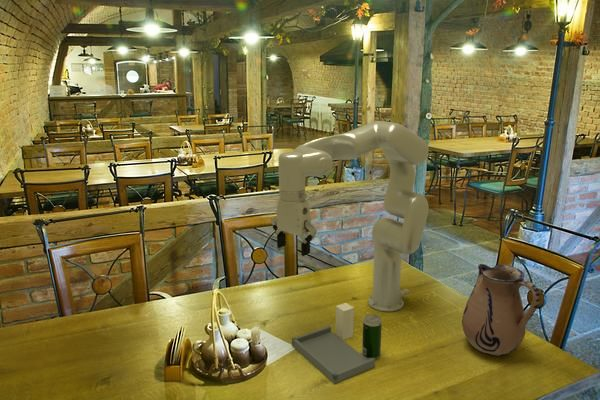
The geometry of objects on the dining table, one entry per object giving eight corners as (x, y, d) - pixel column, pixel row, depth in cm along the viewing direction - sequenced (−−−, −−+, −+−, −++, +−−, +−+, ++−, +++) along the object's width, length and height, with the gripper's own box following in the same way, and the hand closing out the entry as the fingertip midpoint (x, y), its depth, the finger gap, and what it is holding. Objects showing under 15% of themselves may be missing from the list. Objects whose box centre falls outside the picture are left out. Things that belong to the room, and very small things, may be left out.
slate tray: (329, 332, 156) (329, 325, 155) (374, 366, 138) (374, 359, 137) (291, 345, 148) (291, 338, 148) (334, 383, 130) (334, 375, 130)
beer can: (370, 362, 140) (371, 325, 137) (358, 353, 144) (359, 317, 141) (384, 356, 143) (386, 319, 139) (371, 348, 147) (373, 312, 144)
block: (345, 330, 157) (346, 302, 154) (353, 336, 153) (354, 307, 151) (335, 334, 155) (335, 305, 152) (343, 340, 151) (343, 311, 149)
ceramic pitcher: (476, 326, 159) (483, 254, 153) (543, 351, 145) (555, 274, 138) (449, 347, 147) (456, 270, 141) (519, 377, 133) (530, 293, 126)
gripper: (323, 197, 137) (324, 253, 142) (279, 188, 148) (281, 240, 153) (306, 203, 132) (307, 261, 137) (262, 192, 143) (264, 247, 148)
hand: (293, 250), depth 145 cm, fingers open, 9 cm apart
